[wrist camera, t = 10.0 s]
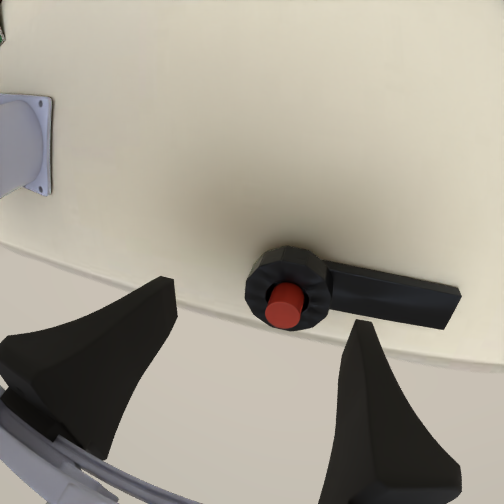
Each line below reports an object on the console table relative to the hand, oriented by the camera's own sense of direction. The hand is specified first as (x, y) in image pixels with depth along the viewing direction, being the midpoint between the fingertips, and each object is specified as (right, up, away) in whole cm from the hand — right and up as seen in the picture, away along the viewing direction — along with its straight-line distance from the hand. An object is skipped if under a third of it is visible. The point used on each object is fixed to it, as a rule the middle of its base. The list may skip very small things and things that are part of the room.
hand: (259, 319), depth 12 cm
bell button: (+2, 0, +5) cm, 5 cm away
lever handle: (+7, 0, +6) cm, 9 cm away
